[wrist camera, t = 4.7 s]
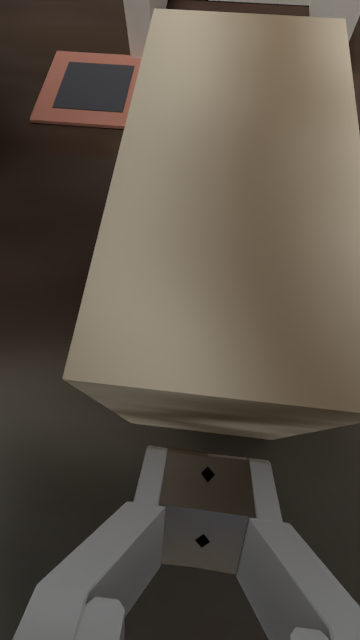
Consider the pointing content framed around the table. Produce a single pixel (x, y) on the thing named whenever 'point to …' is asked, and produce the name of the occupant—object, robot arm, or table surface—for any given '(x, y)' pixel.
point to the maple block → (230, 234)
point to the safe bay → (140, 3)
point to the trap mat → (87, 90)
